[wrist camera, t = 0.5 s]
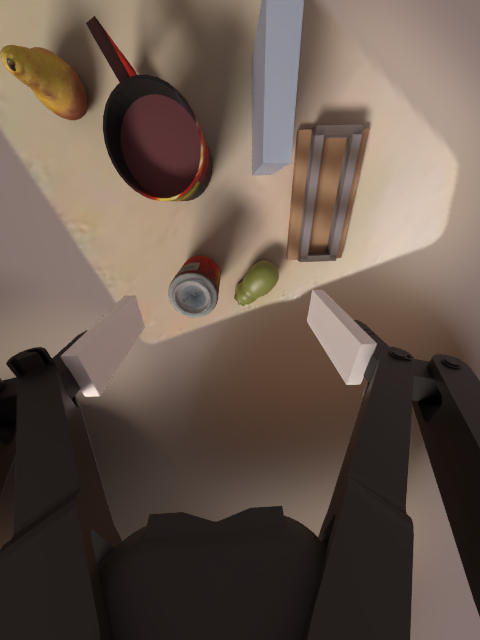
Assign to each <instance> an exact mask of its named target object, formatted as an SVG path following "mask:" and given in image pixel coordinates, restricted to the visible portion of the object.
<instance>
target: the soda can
mask: <svg viewBox="0 0 480 640" xmlns="http://www.w3.org/2000/svg"><path fill="white" fill-rule="evenodd" d="M219 283H220V271H219V268H218V266H217V265H216V263H215V262H214V261H213V260H211V259H210V258H207V257H205V256H195V257H192V258H190V259H188V260H187V261H186V262H185V263H184V265H183V266H182V268H181V269H180V271H179V272H178V273H177V275H176V276H175V278H174V279H173V280H172V282H171V284H170V286H169V292H168V295H169V300H170V302H171V304H172V306H173V307H174V308H175V309H176V310H177V311H178V312H180V313H181V314H183V315H185V316H188V317H202V316H205V315H207V314H209V313H210V312H211V311H212V310H213V309H214V308H215V306H216V304H217V300H218V293H219Z"/></svg>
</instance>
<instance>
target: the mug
mask: <svg viewBox="0 0 480 640" xmlns="http://www.w3.org/2000/svg"><path fill="white" fill-rule="evenodd" d="M86 24H87V26H88V28H89V29H90V31H91V33H92V35H93V37H94V39H95V40H96V42H97V44H98V46H99V47H100V49H101V51H102V53H103V54H104V56H105V58H106V59H107V61H108V63H109V65H110V66H111V68H112V70H113V72H114V73H115V75H116V77H117V78H118V80H119V82H120V83H119V84H118V85H117V86H116V87H115V89H114V90H113V91H112V92H111V94H110V96H109V98H108V100H107V103H106V106H105V110H104V115H103V133H104V140H105V144H106V148H107V151H108V154H109V157H110V159H111V161H112V163H113V165H114V167H115V168H116V170H117V172H118V173H119V175H120V176H121V177H122V178H123V180H124V181H125V182H126V183H127V184H128V185H129V186H130V187H131V188H133V189H134V190H135V191H136V192H138V193H140V194H141V195H143V196H145V197H147V198H150V199H152V200H158V201H189V200H193V199H195V198H197V197H199V196H200V195H201V194H202V193H203V192H204V191H205V189H206V188H207V186H208V184H209V182H210V179H211V175H212V159H211V155H210V151H209V148H208V146H207V143H206V141H205V138H204V136H203V133H202V131H201V128H200V126H199V124H198V121H197V119H196V116H195V114H194V112H193V110H192V109H191V107H190V105H189V104H188V102H187V101H186V99H185V98H184V97H183V96H182V95H181V94H180V92H179V91H178V90H176V89H175V88H174V87H173V86H171V85H170V84H169V83H167V82H165V81H163V80H161V79H160V78H158V77H153V76H149V75H137V74H136V72H135V70H134V69H133V67H132V66H131V65H130V63H129V62H128V61H127V59H126V58H125V56H124V55H123V54H122V52H121V51H120V50H119V49H118V47H117V46H116V45H115V43H114V42H113V40H112V39H111V38H110V36H109V35H108V34H107V32H106V31H105V30H104V28H103V27H102V25H101V24H100V23H99V21H98V20H97V19H96V17H95V16H94V17H93V18H92V19H90V20H89V21H88V22H87V23H86Z"/></svg>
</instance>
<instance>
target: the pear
mask: <svg viewBox="0 0 480 640" xmlns="http://www.w3.org/2000/svg"><path fill="white" fill-rule="evenodd" d="M278 279H279V272H278V269H277V267H276V266H275V265H274V264H273V263H272V262H270V261H267V260H262V261H259V262H257V263H255V264H254V265H253V266H252V267H251V268H250V269H249V270H248V272H247V273H246V275H245V277H244V280H243V281H242V282H241V283H238V284H237V285H236V289H235V296H234V299H235V300H236V301H238V305H239V304H241V305H242V306H243V305H246V304H250V303H252V302H254V301H255V300H256V299H257V298H258V297H261V296H264V295H266V294H267V293H269V292H270V291H271V290H272V289H273V288H274V286H275V285H276V283H277V281H278Z"/></svg>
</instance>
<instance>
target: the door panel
mask: <svg viewBox="0 0 480 640" xmlns="http://www.w3.org/2000/svg"><path fill="white" fill-rule="evenodd" d="M303 5H304V0H262V2H261V8H260V14H259V20H258V27H257V33H256V39H255V45H254V52H253V58H252V176H253V175H272V174H274V173H275V172H277V171H278V170H280V169H282V168H283V167H285V166H286V165H288V164H290V163H291V157H292V145H293V132H294V119H295V107H296V94H297V81H298V69H299V56H300V43H301V31H302V18H303Z"/></svg>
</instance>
